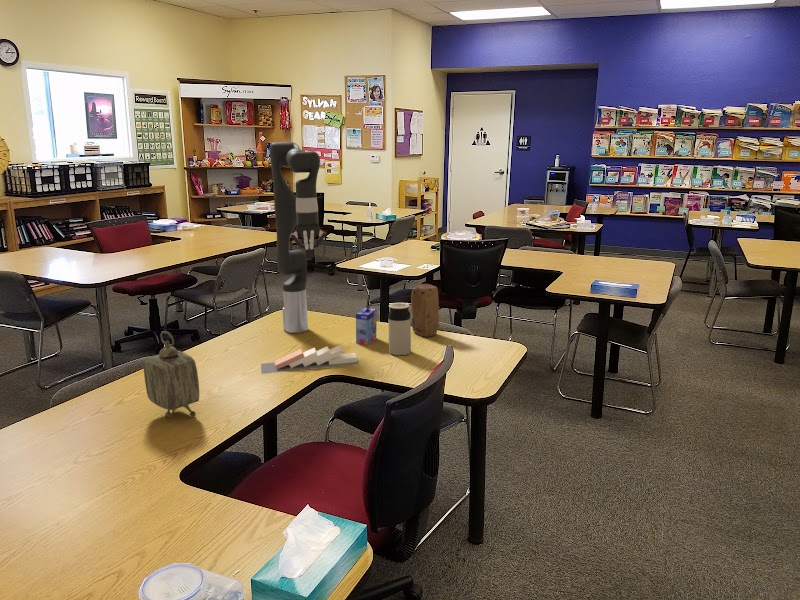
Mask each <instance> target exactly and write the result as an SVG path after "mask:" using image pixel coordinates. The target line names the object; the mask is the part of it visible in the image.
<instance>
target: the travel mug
mask: <svg viewBox="0 0 800 600" xmlns="http://www.w3.org/2000/svg"><path fill="white" fill-rule="evenodd" d="M388 307H389V312H388V353H389V354H390V355H392V354H393V356H397V355H403V356H407V355H409V354H411V352H412V332H411V331H412V330H411V327H412V318H411V312H410V307H411V304H409V303H407V302H392V303H390V304H389V305H388Z"/></svg>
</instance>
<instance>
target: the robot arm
mask: <svg viewBox="0 0 800 600" xmlns="http://www.w3.org/2000/svg"><path fill="white" fill-rule="evenodd" d="M269 160H270V167H271V174H272V176H271V177H272V182H273V183H272V184H273V199H274V202H273V203H274V215H275V216H274V217H275V227H276V228H275V229H276V265H277V270H278V272H279V273H280V274H281V275H283V276H284V275H285V276H286V275H291V277H290V278H289V279H287V280H285V281H284V282H283V283H282V294H283V307H282V309H281V310H282V324H283V325H282V326H283V331H285V332H286V333H291V334H300V333H304V332H307V331H309V322H308V321H309V316H308V303H307V302H308V301H307V288H306V287H307V282H308V277H307V276H308V275H307V274H308V271H307V270H308V269H307V268H308V267H307V265H308V264H307V261H312V260H313V259H314V257H315V255H314V253H315V252H314V249H316V248H319V246H320V245H321V243H322V242H323V240H324V239H325V238H326V236H327V233H326V232H325V231H323V230H321V228H320V225H319V223H320V221H319V205H318V198H317V179H318V174H319V171H320V166H321V157H320V156H319V154H318V152H316V151H314V150H313V151H306V150H303V149H301V148H300V146H299V145H298V144H297V143H295V142H292V141H283V142H282V141H279V142H275V141H274V142H272V143H270V146H269ZM286 167H287V168H289V169H290V170H291V172H293V173H297V174H299V173H300V174H302V173H303V174H304V173H305V174H306V173H308V176H307V177H305V178H303V179H298V180H297V181H296V182H295V193H294V192H293V191H292V189H291V188H290V187H289V185H288V184H287V182H286V180H285V179H284V176H283V173H282V170H281V168H286ZM298 235H299V236H298ZM317 236H318V238H317ZM299 237H300V239H302V240H303V243H302V242H301V241H300V240H299ZM316 238H317V240H316V241H315V239H316ZM291 239H292V240H293V241H294V242H295V244H297V246H298V247H299V248H300V249H292V250H290V240H291ZM302 249H303V250H304V251H303V250H302Z"/></svg>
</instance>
